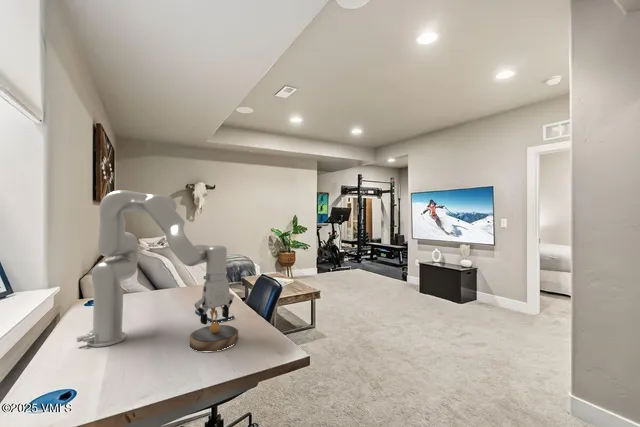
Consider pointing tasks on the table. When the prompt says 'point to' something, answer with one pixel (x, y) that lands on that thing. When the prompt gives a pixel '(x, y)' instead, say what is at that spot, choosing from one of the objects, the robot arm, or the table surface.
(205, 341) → the walnut stand
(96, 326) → the robot arm
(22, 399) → the table surface
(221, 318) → the external hard drive
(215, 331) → the figurine
